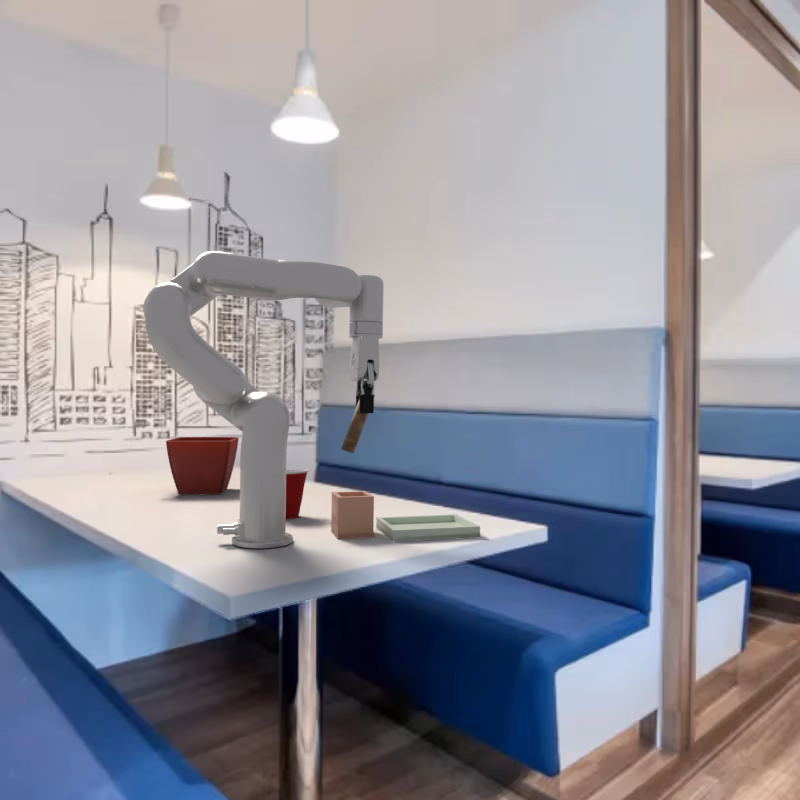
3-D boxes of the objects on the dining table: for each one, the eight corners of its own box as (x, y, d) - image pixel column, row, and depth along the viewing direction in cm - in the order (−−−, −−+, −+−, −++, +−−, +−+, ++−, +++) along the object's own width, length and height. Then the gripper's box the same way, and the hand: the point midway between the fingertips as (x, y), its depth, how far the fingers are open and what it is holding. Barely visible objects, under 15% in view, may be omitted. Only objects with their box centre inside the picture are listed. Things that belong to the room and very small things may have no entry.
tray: (392, 542, 141) (393, 530, 141) (376, 527, 156) (376, 517, 156) (479, 537, 147) (480, 526, 147) (455, 524, 161) (456, 514, 161)
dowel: (342, 454, 146) (342, 390, 146) (339, 453, 149) (340, 390, 149) (375, 453, 148) (376, 390, 148) (372, 452, 151) (373, 390, 151)
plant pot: (178, 487, 215) (179, 436, 215) (238, 487, 217) (239, 436, 217) (164, 497, 196) (164, 440, 196) (230, 496, 198) (230, 440, 198)
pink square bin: (337, 538, 143) (338, 497, 143) (331, 531, 151) (331, 492, 151) (373, 537, 146) (373, 496, 146) (365, 529, 153) (365, 491, 153)
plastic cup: (290, 511, 176) (290, 466, 176) (316, 516, 169) (317, 469, 168) (256, 516, 168) (256, 469, 168) (282, 522, 161) (283, 473, 160)
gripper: (342, 333, 155) (341, 411, 156) (357, 327, 140) (355, 413, 140) (373, 334, 157) (372, 411, 158) (391, 328, 142) (390, 414, 142)
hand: (364, 412), depth 149 cm, fingers closed on dowel, 3 cm apart
